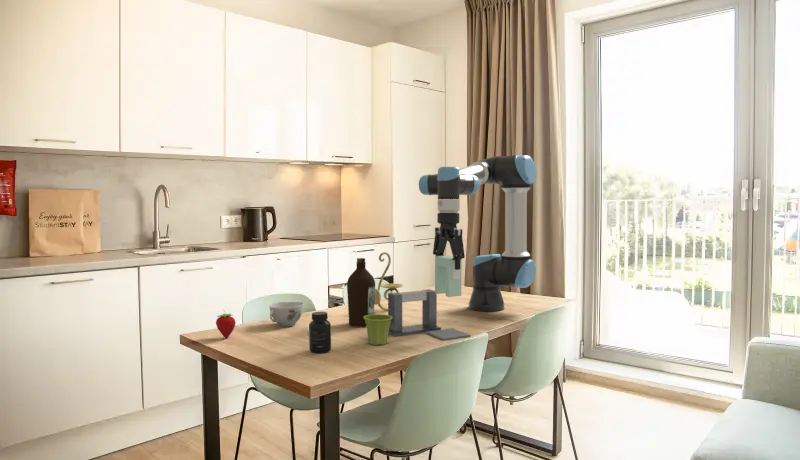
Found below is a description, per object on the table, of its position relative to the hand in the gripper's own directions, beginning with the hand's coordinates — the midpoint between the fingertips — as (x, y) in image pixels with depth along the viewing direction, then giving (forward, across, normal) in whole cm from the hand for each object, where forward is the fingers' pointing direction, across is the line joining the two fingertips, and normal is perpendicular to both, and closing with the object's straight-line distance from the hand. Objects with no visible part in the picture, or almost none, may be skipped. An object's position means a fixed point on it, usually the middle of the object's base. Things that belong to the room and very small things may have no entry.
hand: (448, 277), depth 194 cm
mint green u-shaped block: (+6, 0, 0) cm, 6 cm away
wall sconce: (+20, -47, 0) cm, 51 cm away
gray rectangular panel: (+20, 0, 0) cm, 20 cm away
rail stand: (+20, -11, -8) cm, 24 cm away
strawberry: (+21, -32, -69) cm, 79 cm away
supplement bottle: (+21, -2, -46) cm, 50 cm away
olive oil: (+20, -29, -20) cm, 41 cm away
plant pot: (+21, -2, -26) cm, 33 cm away
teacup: (+21, -41, -46) cm, 65 cm away
